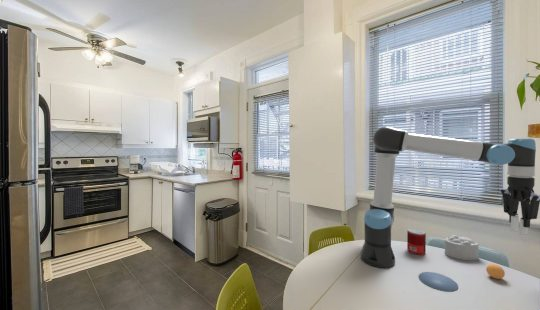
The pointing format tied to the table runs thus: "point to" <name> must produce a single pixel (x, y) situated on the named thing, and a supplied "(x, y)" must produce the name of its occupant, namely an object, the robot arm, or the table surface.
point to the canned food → (416, 241)
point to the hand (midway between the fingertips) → (519, 232)
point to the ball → (495, 271)
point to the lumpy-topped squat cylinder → (461, 248)
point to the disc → (438, 281)
